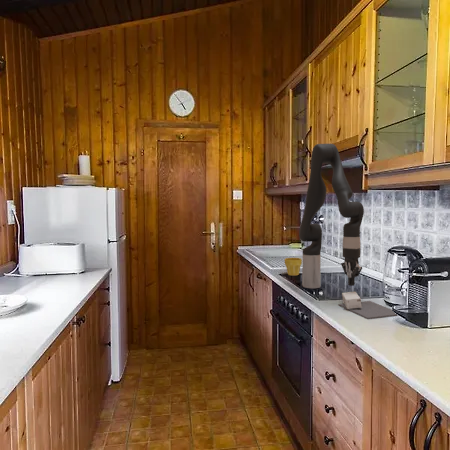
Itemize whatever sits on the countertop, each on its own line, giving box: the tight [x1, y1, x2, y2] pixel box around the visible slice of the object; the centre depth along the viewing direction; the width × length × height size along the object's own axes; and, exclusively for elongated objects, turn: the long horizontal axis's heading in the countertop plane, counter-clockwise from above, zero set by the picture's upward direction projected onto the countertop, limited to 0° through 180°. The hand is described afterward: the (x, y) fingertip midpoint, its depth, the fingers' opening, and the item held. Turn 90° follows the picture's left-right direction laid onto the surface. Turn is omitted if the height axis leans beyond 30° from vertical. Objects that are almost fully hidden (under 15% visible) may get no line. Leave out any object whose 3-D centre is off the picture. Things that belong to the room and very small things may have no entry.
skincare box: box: [341, 291, 362, 310], centre depth 163 cm, size 6×4×12 cm
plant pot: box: [284, 257, 303, 277], centre depth 233 cm, size 10×10×10 cm
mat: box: [338, 300, 397, 320], centre depth 158 cm, size 20×16×1 cm
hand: (351, 285), depth 170 cm, fingers closed
